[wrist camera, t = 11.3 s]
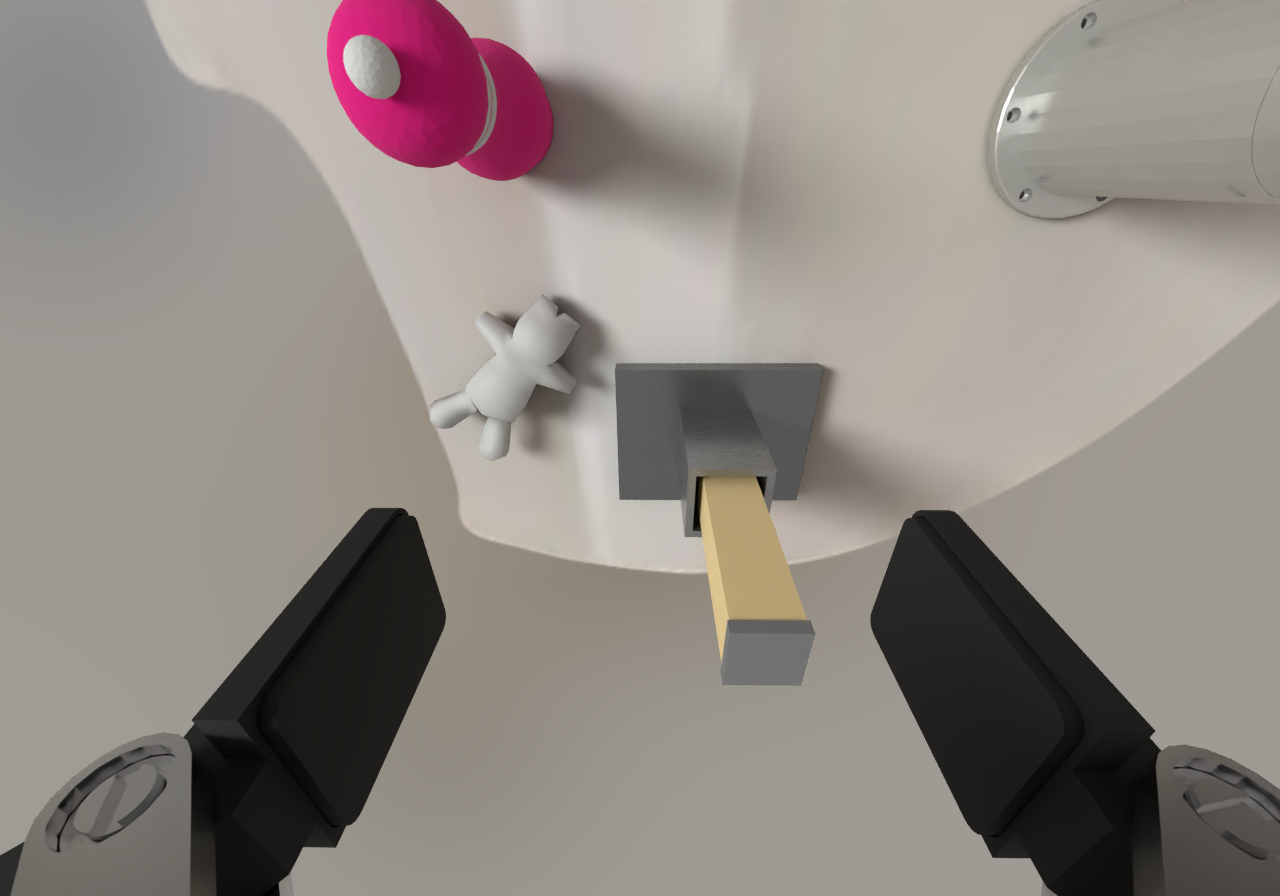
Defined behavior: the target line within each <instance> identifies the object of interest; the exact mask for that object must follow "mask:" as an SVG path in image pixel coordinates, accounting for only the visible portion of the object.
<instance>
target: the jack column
mask: <svg viewBox="0 0 1280 896" xmlns="http://www.w3.org/2000/svg"><path fill="white" fill-rule="evenodd" d="M697 504H698V511H699V517H700V524H701V531H702V537H703V544H704V550H705V557H706V564H707V570H708V576H709V583H710V590H711V596H712V603H713V610H714V617H715V623H716V629H717V636H718V643H719V650H720V656H721V662H722V664H721V677H722V684H723V685H801V683H802V679H803V676H804V672H805V669H806V665H807V661H808V658H809V654H810V651H811V647H812V643H813V640H814V636H815V632H814V630H813V627H812V624H811V621H807V618H806V615H805V612H804V609H803V607H802V604H801V601H800V598H799V595H798V593H797V590H796V587H795V584H794V582H793V579H792V576H791V573H790V570H789V568H788V565H787V562H786V559H785V556H784V554H783V551H782V548H781V545H780V542H779V540H778V537H777V534H776V531H775V528H774V526H773V523H772V520H771V517H770V515H769V512H768V509H767V506H766V503H765V501H764V498H763V495H762V492H761V489H760V487H759V484H758V481H757V478H756V476H698V483H697Z"/></svg>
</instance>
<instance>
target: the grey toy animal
mask: <svg viewBox="0 0 1280 896" xmlns="http://www.w3.org/2000/svg"><path fill="white" fill-rule="evenodd" d="M557 313H558V306H556V305H555V304H554V303H553V302H552V301H550V300H549V299H548V298H547V297H545V296H544V295H543V294H542V295H541V296H540V297H539V299H538V300H537V301H536V302H535V303H534V304H533V305H532V306H531V307H530V309H529V310H528V311H527V312H526V313H525V314H524V315H523V316H522V317H521V318H520V319H519V320H518V323H517V325H516V327H515V328H513V327H512V326H510V325H508V324H507V323H505V322H503V321H502V320H500V319H498V318H497V317H495V316H493V315H492V314H490V313H488V312H487V311H486V312H485V313H484V314H482V315H481V316H480V317H479V318H478V319H477V320H476V321H475V322H474V323H475V325H476V326H477V327H478V329H479V330H480V331H481V333H482V334H483V336H484V337H485V338H486V340H487V341H488V342H489V344H490V345H491V347H492V348H493V349H494V351H495V352H496V353H495V354H494V355H493V356H492V357H491V358H490V359H489V360H488V361H487V362H486V364H485V365H484V366H483V367H482V368H481V369H480V370H479V371H478V372H477V374H476V375H475V376H474V377H473V378H472V379H471V380H470V382H469V383H468V385H467V387H466V388H465V390H463V391H460V392H457V393H454V394H452V395H449V396H446V397H444V398H441V399H438V400H436V401H434V402H433V403H432V404H431V405H430V420H431V422H432V423H433V424H434V425H435V426H437V427H439V428H443V429H446V428H451V427H453V426H455V425H456V424H458V423H459V422H461V421H462V420H464V419H465V418H467V417H468V416H469V415H471V414H472V413H474V412H475V411H477V410H478V411H479V412H480V413H481V414H482V415H484V416H486V417H488V419H487V422H486V425H485V428H484V432H483V435H482V438H481V441H480V444H479V449H480V453H481V454H482V456H483V457H485V458H486V459H488V460H492V461H494V460H496V459H499V458H502V457H504V456H506V455H507V453H508V451H509V444H510V431H511V422H514V421H515V420H516V418H517V417H518V416H519V415H520V414H521V412H522V411H523V409H524V408H525V406H526V404H527V402H528V400H529V398H530V396H531V394H532V392H533V390H534V388H535V386H536V384H539V385H542V386H546V387H549V388H552V389H555V390H558V391H561V392H564V393H567V394H571V392H572V391H573V389H574V387H575V384H576V379H575V378H574V377H572V376H571V375H570V374H569V373H568V372H567V371H566V370H565V369H564V368H563V367H562V366H561V365H560V364H559V363H558V362H557V360H558V359H559V358H560V357H561V356H562V355H563V354H564V352H565V351H566V349H567V347H568V346H569V344H570V342H571V340H572V338H573V336H574V335H575V333H576V332H577V330H578V329H579V326H580V324H579V323H577V322H576V321H575V320H574V319H572V318H571V317H570V316H569V315H568V314H566V313H565V312H564V313H562V314H559V315H557Z"/></svg>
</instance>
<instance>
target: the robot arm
mask: <svg viewBox="0 0 1280 896" xmlns="http://www.w3.org/2000/svg"><path fill="white" fill-rule="evenodd" d="M1007 115H1008V118H1007ZM988 166H989V172H990V177H991V180H992V182H993V185H994V187H995V189H996V191H997V193H998V194H999V195H1000V197H1001V198H1002V199H1003V200H1004V202H1005V203H1006V204H1008V205H1009V206H1011V207H1012V208H1013V209H1015V210H1016V211H1018V212H1021V213H1024V214H1026V215H1029V216H1035V217H1042V218H1065V217H1070V216H1075V215H1080V214H1082V213H1085V212H1088V211H1090V210H1093V209H1096V208H1098V207H1100V206H1102V205H1104V204H1106V203H1107V202H1109V201H1111V200H1113V199H1115V198H1116V197H1119V198H1140V199H1160V200H1181V201H1202V202H1223V203H1243V204H1264V205H1280V0H1188V1H1184V0H1098V1H1096V2H1093V3H1091V4H1089V5H1087V6H1085V7H1082V8H1081V9H1079V10H1078V11H1076V12H1075V13H1073V14H1072V15H1070V16H1069V17H1067V18H1066V19H1064V20H1063V21H1061V22H1060V23H1059V24H1058V25H1056V26H1055V27H1054V28H1053V29H1052V30H1051V31H1050V32H1048V33H1047V34H1046V35H1045V36H1044V37H1043V38H1042V39H1041V40H1040V41H1039V42H1038V43H1037V44H1036V45H1035V47H1034V48H1033V49H1032V50H1031V51H1030V52H1029V53H1028V55H1027V56H1026V57H1025V58H1024V59H1023V61H1022V62H1021V64H1020V65H1019V67H1018V68H1017V70H1016V71H1015V73H1014V74H1013V76H1012V77H1011V79H1010V80H1009V82H1008V84H1007V86H1006V88H1005V90H1004V92H1003V94H1002V96H1001V98H1000V100H999V103H998V106H997V108H996V111H995V114H994V117H993V120H992V123H991V129H990V134H989V139H988ZM445 620H446V613H445V608H444V605H443V602H442V599H441V596H440V592H439V589H438V586H437V582H436V579H435V576H434V573H433V570H432V567H431V564H430V560H429V557H428V554H427V551H426V548H425V545H424V541H423V538H422V535H421V532H420V529H419V525H418V522H417V520H416V518H415V517H414V516H409V515H408V513H407V511H406V510H405V509H402V508H372V509H369V510H368V511H367V512H365V513H364V515H363V516H362V517H361V518H360V520H359V521H358V522H357V523H356V524H355V525H354V527H353V528H352V529H351V530H350V531H349V532H348V534H347V535H346V536H345V537H344V538H343V540H342V541H341V542H340V543H339V545H338V546H337V547H336V548H335V549H334V550H333V552H332V553H331V554H330V555H329V556H328V558H327V559H326V560H325V561H324V562H323V564H322V565H321V566H320V567H319V568H318V570H317V571H316V572H315V573H314V574H313V576H312V577H311V578H310V579H309V580H308V582H307V583H306V584H305V585H304V586H303V588H302V589H301V590H300V591H299V592H298V593H297V595H296V596H295V597H294V598H293V599H292V601H291V602H290V603H289V604H288V605H287V607H286V608H285V609H284V610H283V612H282V613H281V614H280V615H279V616H278V617H277V619H276V620H275V621H274V622H273V624H272V625H271V626H270V627H269V628H268V630H267V631H266V632H265V633H264V634H263V635H262V637H261V638H260V639H259V640H258V641H257V643H256V644H255V645H254V646H253V647H252V648H251V650H250V651H249V652H248V653H247V654H246V656H245V657H244V658H243V659H242V660H241V662H240V663H239V664H238V665H237V666H236V668H235V669H234V670H233V671H232V672H231V674H230V675H229V676H228V677H227V679H226V680H225V681H224V682H223V683H222V684H221V686H220V687H219V688H218V689H217V691H216V692H215V693H214V694H213V695H212V696H211V698H210V699H209V700H208V701H207V702H206V703H205V705H204V706H203V707H202V708H201V710H200V711H199V712H198V713H197V714H196V715H195V717H194V718H193V719H192V721H193V722H194V723H195V724H194V725H193V726H192V728H191V729H190V730H189V731H188V733H187V734H186V735H185V736H184V737H182V736H180V735H179V734H171V733H159V734H153V735H148V736H143V737H141V738H138V739H136V740H133V741H131V742H128V743H126V744H123V745H121V746H119V747H117V748H116V749H114V750H112V751H110V752H108V753H107V754H105V755H103V756H101V757H100V758H98V759H97V760H95V761H94V762H92V763H91V764H90V765H88V766H87V767H86V768H84V769H83V770H82V771H80V772H79V773H78V774H76V775H75V776H74V777H72V778H71V779H70V780H69V781H68V782H67V783H66V784H65V785H64V786H63V787H62V788H61V789H60V790H59V791H58V792H57V793H56V794H55V795H54V796H53V797H52V798H51V799H50V800H49V801H48V803H47V804H46V805H45V807H44V808H43V809H42V811H41V812H40V813H39V814H38V816H37V817H36V819H35V820H34V822H33V824H32V826H31V828H30V831H29V833H28V835H27V837H26V839H25V842H23V843H21V844H20V845H18V846H16V847H14V848H13V849H11V850H9V851H7V852H6V853H4V854H2V855H0V896H294V894H293V887H292V880H291V870H292V868H293V866H294V864H295V862H296V860H297V858H298V856H299V854H300V852H301V850H302V848H303V847H334V848H335V847H336V846H337V844H338V842H339V840H340V838H341V836H342V833H343V831H344V829H345V827H346V825H351V824H352V823H354V822H355V821H356V819H357V818H358V817H359V815H360V813H361V811H362V809H363V807H364V805H365V803H366V801H367V798H368V796H369V794H370V792H371V789H372V787H373V785H374V783H375V781H376V778H377V776H378V774H379V771H380V769H381V767H382V765H383V763H384V760H385V758H386V756H387V754H388V752H389V749H390V747H391V745H392V743H393V740H394V738H395V736H396V734H397V732H398V729H399V727H400V725H401V723H402V720H403V718H404V716H405V714H406V712H407V709H408V707H409V705H410V703H411V700H412V698H413V696H414V694H415V692H416V689H417V687H418V685H419V683H420V680H421V678H422V676H423V673H424V671H425V669H426V667H427V665H428V663H429V660H430V658H431V656H432V654H433V651H434V649H435V647H436V645H437V642H438V640H439V638H440V636H441V634H442V631H443V629H444V626H445ZM871 627H872V631H873V634H874V636H875V638H876V640H877V642H878V644H879V646H880V648H881V650H882V652H883V654H884V656H885V658H886V660H887V662H888V664H889V666H890V668H891V670H892V672H893V674H894V676H895V679H896V681H897V682H898V685H899V687H900V689H901V690H902V692H903V695H904V697H905V699H906V701H907V703H908V705H909V707H910V709H911V711H912V713H913V715H914V717H915V719H916V721H917V723H918V725H919V727H920V729H921V731H922V733H923V735H924V737H925V740H926V741H927V744H928V745H929V748H930V750H931V752H932V754H933V756H934V758H935V760H936V762H937V763H938V766H939V768H940V770H941V772H942V774H943V776H944V778H945V780H946V782H947V784H948V786H949V788H950V790H951V792H952V794H953V796H954V798H955V800H956V802H957V805H958V806H959V809H960V811H961V813H962V815H963V817H964V818H965V820H966V822H967V824H968V825H969V826H970V828H971V829H972V830H973V831H974V832H975V833H977V834H980V835H982V837H983V839H984V841H985V843H986V845H987V847H988V849H989V851H990V853H991V855H992V857H993V858H1031V860H1032V862H1033V864H1034V866H1035V867H1036V869H1037V871H1038V873H1039V875H1040V876H1041V878H1042V880H1043V883H1042V894H1041V896H1280V789H1278V788H1277V787H1275V786H1274V785H1273V784H1271V783H1270V782H1269V781H1267V780H1266V779H1264V778H1263V777H1262V776H1260V775H1259V774H1257V773H1255V772H1254V771H1251V770H1250V769H1248V768H1246V767H1245V766H1243V765H1241V764H1239V763H1237V762H1236V761H1234V760H1232V759H1230V758H1227V757H1225V756H1222V755H1219V754H1217V753H1215V752H1212V751H1210V750H1207V749H1203V748H1198V747H1194V746H1189V745H1176V746H1168V747H1166V748H1165V749H1164V750H1162V751H1161V750H1160V749H1159V748H1158V747H1157V746H1156V745H1155V743H1154V742H1153V741H1152V740H1151V739H1150V738H1149V737H1150V736H1151V735H1152V734H1153V733H1154V732H1155V730H1154V729H1153V728H1152V727H1151V726H1150V724H1149V723H1148V722H1147V721H1146V720H1145V719H1144V718H1143V717H1142V716H1141V715H1140V714H1139V712H1137V710H1136V709H1135V708H1134V707H1133V706H1132V705H1131V704H1130V703H1129V702H1128V700H1127V699H1126V698H1125V697H1124V696H1123V695H1122V694H1121V693H1120V692H1119V691H1118V689H1117V688H1116V687H1115V686H1114V685H1113V684H1112V683H1111V682H1110V681H1109V680H1108V679H1107V677H1106V676H1105V675H1104V674H1103V673H1102V672H1101V671H1100V670H1099V669H1098V667H1096V665H1095V664H1094V663H1093V662H1092V661H1091V660H1090V659H1089V658H1088V657H1087V656H1086V654H1085V653H1084V652H1083V651H1082V650H1081V649H1080V648H1079V647H1078V646H1077V644H1076V643H1075V642H1074V641H1073V640H1072V639H1071V638H1070V637H1069V636H1068V635H1067V634H1066V633H1065V631H1064V630H1063V629H1062V628H1061V627H1060V626H1059V625H1058V624H1057V623H1056V622H1055V620H1054V619H1053V618H1052V617H1051V616H1050V615H1049V614H1048V613H1047V612H1046V611H1045V609H1044V608H1043V607H1042V606H1041V605H1040V604H1039V603H1038V602H1037V601H1036V600H1035V598H1034V597H1033V596H1032V595H1031V594H1030V593H1029V592H1028V591H1027V590H1026V589H1025V588H1024V586H1023V585H1022V584H1021V583H1020V582H1019V581H1018V580H1017V579H1016V578H1015V577H1014V575H1013V574H1012V573H1011V572H1010V571H1009V570H1008V569H1007V568H1006V567H1005V566H1004V565H1003V564H1002V562H1001V561H1000V560H999V559H998V558H997V557H996V556H995V555H994V554H993V553H992V551H991V550H990V549H989V548H988V547H987V546H986V545H985V544H984V543H983V541H982V540H981V539H980V538H979V537H978V536H977V535H976V534H975V533H974V532H973V531H972V529H971V528H970V527H969V526H968V525H967V524H966V523H965V522H964V521H963V520H962V518H961V517H960V516H959V515H958V514H956V513H955V512H953V511H950V510H920V511H917V512H916V513H914V515H913V517H912V518H908V519H906V520H905V522H904V524H903V526H902V529H901V532H900V534H899V537H898V540H897V543H896V546H895V548H894V551H893V554H892V557H891V559H890V562H889V565H888V568H887V571H886V574H885V576H884V579H883V582H882V585H881V587H880V590H879V593H878V596H877V599H876V601H875V604H874V607H873V610H872V613H871Z"/></svg>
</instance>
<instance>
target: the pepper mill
mask: <svg viewBox="0 0 1280 896" xmlns="http://www.w3.org/2000/svg"><path fill="white" fill-rule="evenodd" d="M327 58H328V66H329V73H330V76H331V80H332V83H333V87H334V89H335V91H336V94H337V96H338V98H339V101H340V103H341V105H342V107H343V108H344V110H345V112H346V114H347V116H348V117H349V119H350V120H351V122H352V123H353V124H354V126H355V127H356V128H357V129H358V131H359V132H360V133H361V134H362V135H363V136H364V137H365V138H366V139H367V140H368V141H369V142H370V143H372V144H373V145H374V146H375V147H376V148H378V149H379V150H381V151H382V152H383V153H385V154H386V155H388V156H390V157H392V158H394V159H396V160H398V161H401V162H404V163H407V164H410V165H413V166H417V167H427V168H435V167H441V166H446V165H450V164H452V163H454V162H456V161H457V162H458V163H459V164H460V165H461V166H462V167H464V168H465V169H467V170H468V171H470V172H471V173H473V174H476V175H478V176H480V177H484V178H487V179H491V180H497V181H506V180H511V179H515V178H518V177H520V176H522V175H524V174H526V173H527V172H528V171H530V170H531V169H532V168H533V167H534V166H536V165H537V164H538V163H539V162H540V161H541V160H542V159H543V158H544V156H545V155H546V153H547V151H548V149H549V147H550V144H551V141H552V137H553V115H552V110H551V106H550V104H549V101H548V98H547V96H546V93H545V90H544V88H543V85H542V83H541V81H540V79H539V77H538V76H537V74H536V73H535V71H534V70H533V68H532V67H531V66H530V64H529V63H528V62H527V61H526V60H525V59H524V58H523V57H522V56H521V55H520V54H518V53H517V52H516V51H514V50H513V49H511V48H509V47H508V46H506V45H504V44H502V43H499V42H496V41H494V40H491V39H484V38H471V39H470V37H469V35H468V34H467V32H466V31H465V29H464V27H463V26H462V25H461V24H460V23H459V21H458V20H457V19H456V18H455V17H454V16H453V15H452V14H451V13H450V12H449V11H448V10H447V9H446V8H445V7H444V6H443V5H442V4H441V3H439V2H438V1H436V0H343V1H342V2H341V4H340V5H339V7H338V9H337V10H336V12H335V14H334V16H333V18H332V22H331V25H330V28H329V32H328V39H327Z"/></svg>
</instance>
